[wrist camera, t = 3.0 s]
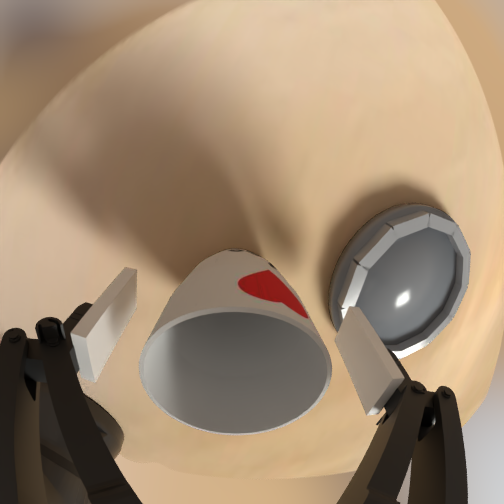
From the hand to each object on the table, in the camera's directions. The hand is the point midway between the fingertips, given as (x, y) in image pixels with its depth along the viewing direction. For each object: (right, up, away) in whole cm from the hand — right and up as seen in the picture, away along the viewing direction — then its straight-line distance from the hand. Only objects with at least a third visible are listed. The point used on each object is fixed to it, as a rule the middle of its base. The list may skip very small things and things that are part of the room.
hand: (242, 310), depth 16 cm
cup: (-1, +1, +4) cm, 4 cm away
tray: (+13, +1, +5) cm, 14 cm away
